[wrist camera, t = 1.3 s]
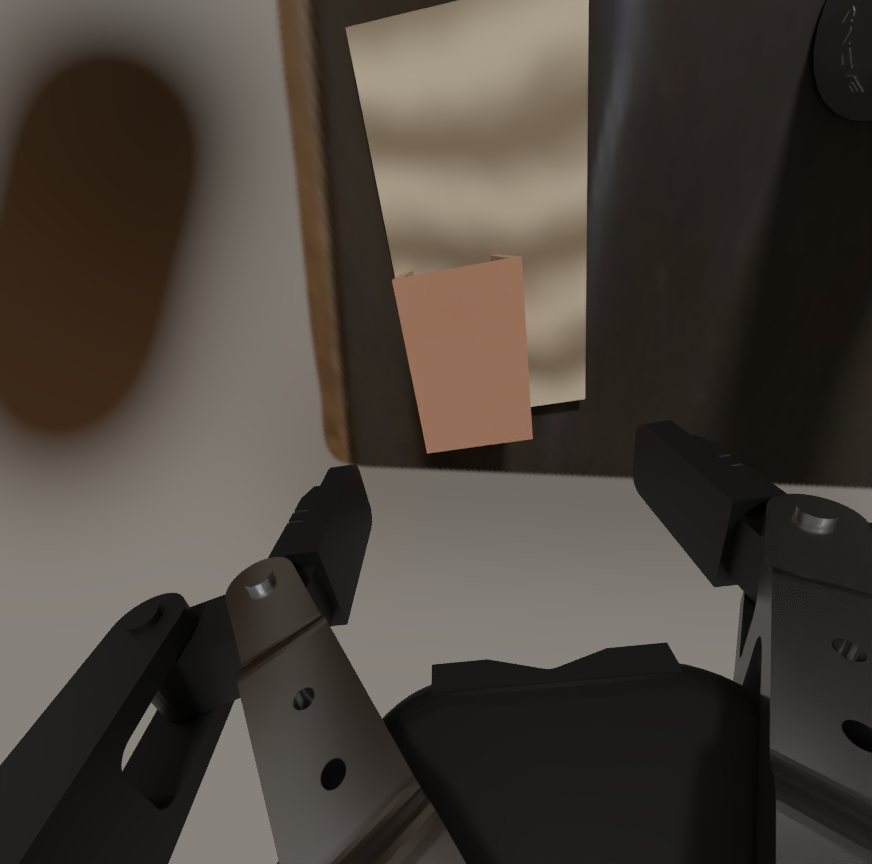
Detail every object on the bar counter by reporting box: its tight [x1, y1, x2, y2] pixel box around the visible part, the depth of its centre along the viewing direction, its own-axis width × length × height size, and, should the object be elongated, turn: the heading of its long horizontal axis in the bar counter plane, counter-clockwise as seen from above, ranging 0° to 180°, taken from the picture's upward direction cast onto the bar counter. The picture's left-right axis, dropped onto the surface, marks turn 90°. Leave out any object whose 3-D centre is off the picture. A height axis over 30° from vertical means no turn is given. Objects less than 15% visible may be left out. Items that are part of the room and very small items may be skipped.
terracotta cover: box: [392, 254, 533, 454], centre depth 24 cm, size 10×6×8 cm, turn 9°
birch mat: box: [346, 0, 589, 407], centre depth 25 cm, size 24×13×1 cm, turn 9°
